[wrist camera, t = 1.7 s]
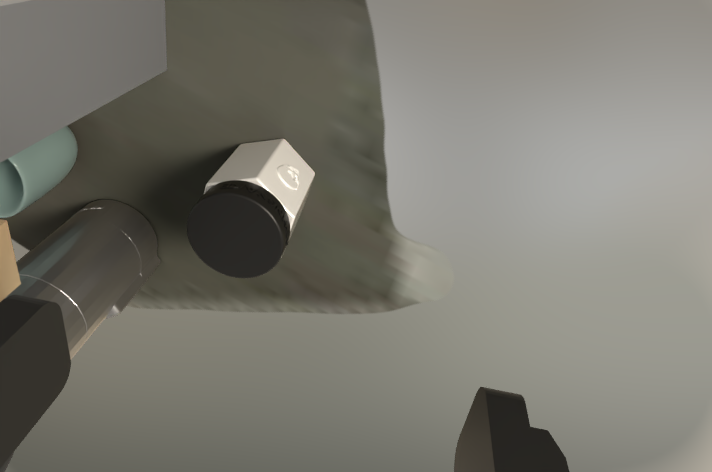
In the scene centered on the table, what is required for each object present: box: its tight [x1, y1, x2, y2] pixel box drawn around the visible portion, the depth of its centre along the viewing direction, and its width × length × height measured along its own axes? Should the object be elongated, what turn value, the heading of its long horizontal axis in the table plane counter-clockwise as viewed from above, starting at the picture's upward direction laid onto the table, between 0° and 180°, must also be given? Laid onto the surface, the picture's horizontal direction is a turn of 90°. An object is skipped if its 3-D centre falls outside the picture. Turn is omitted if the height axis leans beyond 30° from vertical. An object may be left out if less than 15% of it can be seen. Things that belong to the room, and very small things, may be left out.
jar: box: [187, 139, 315, 278], centre depth 48 cm, size 9×8×12 cm
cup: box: [0, 126, 78, 218], centre depth 49 cm, size 8×8×10 cm
